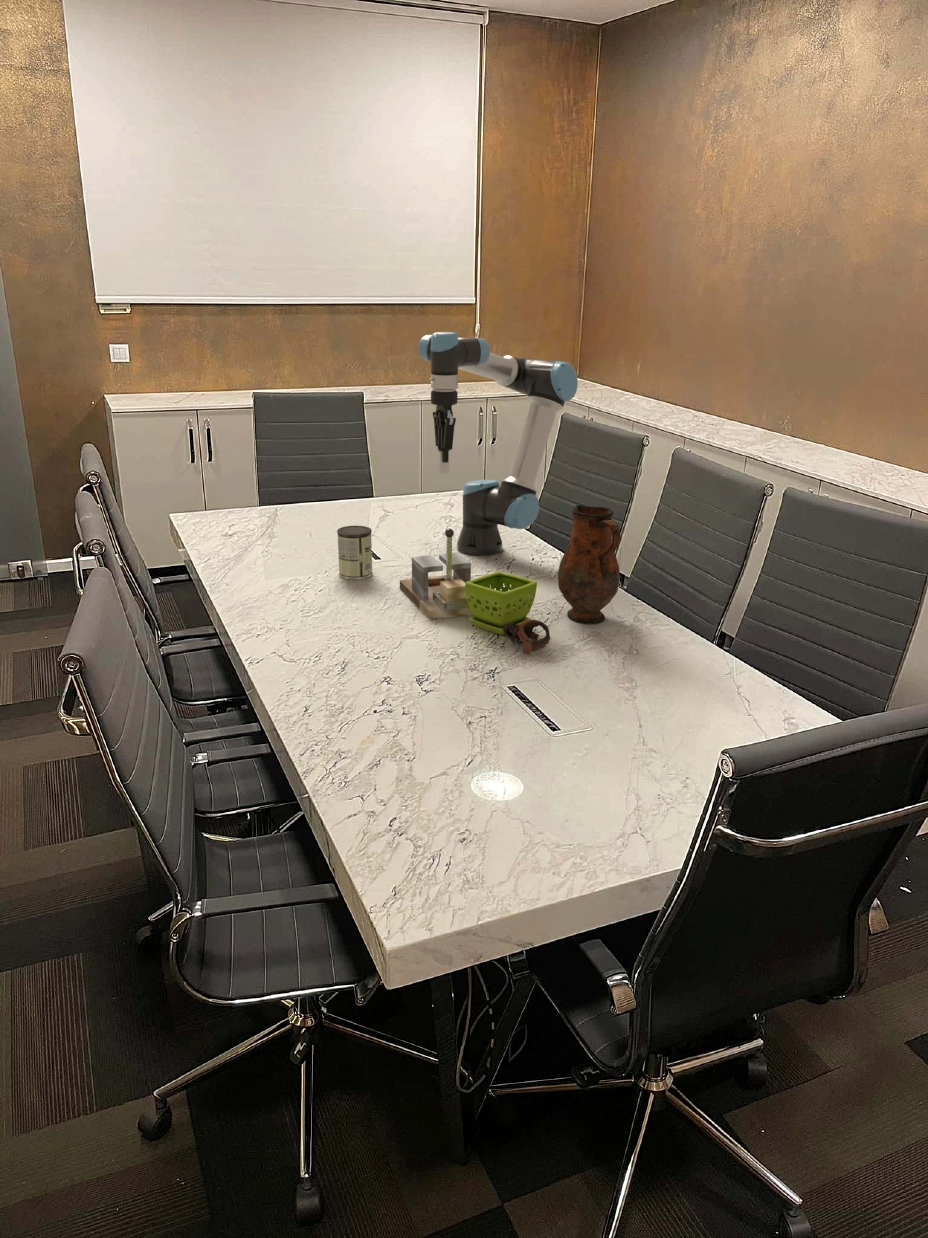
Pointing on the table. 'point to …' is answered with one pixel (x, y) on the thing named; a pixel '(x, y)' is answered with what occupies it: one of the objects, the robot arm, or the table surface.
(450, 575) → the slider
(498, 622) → the flower pot
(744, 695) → the table surface
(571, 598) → the pitcher
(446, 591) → the block
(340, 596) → the table surface
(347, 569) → the coffee can
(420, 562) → the bench vise
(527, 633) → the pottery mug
